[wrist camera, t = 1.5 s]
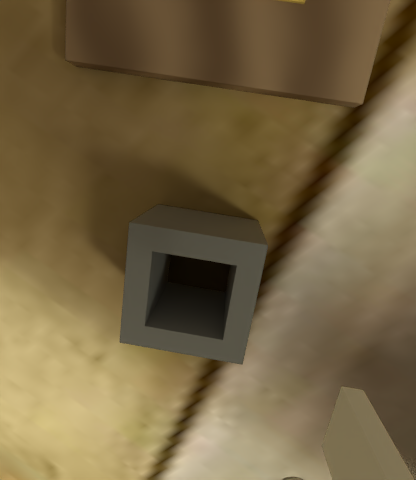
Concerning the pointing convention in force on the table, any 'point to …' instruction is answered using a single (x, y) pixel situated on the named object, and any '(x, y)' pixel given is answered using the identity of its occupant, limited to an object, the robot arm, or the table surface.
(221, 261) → the collar
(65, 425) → the table surface
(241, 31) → the base plate
